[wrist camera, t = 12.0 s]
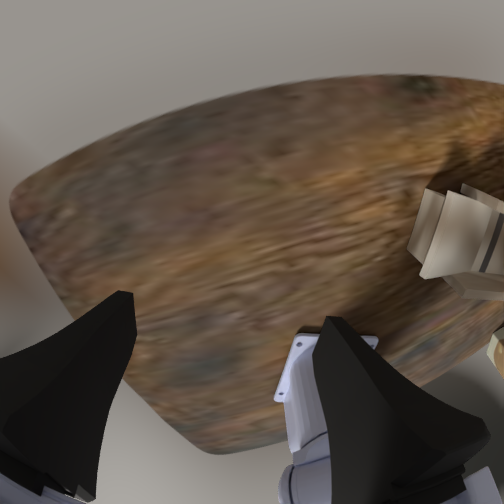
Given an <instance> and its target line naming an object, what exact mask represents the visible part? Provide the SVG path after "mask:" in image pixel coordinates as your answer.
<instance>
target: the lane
mask: <svg viewBox="0 0 504 504" xmlns="http://www.w3.org/2000/svg"><path fill="white" fill-rule="evenodd" d="M460 193H462V194H465V195H467V196H469V197H467V196H464V195H461V194H458V193H455V192H452V191H449V190H448V192H447V196H445V195H443V194H441V193H439V192H436V191H433V190H430V189H427V188H425V191H424V195H423V198H422V202H421V205H420V209H419V212H418V215H417V219H416V222H415V225H414V228H413V231H412V234H411V237H410V240H409V243H408V246H407V250H408V251H409V252H410V253H411V254H412V255H413V256H414V257H415V258H416V259H417V260H418V261H420V262H421V263H422V264H423V267H422V269H421V272H420V274H419V275H420V276H421V277H422V278H424V279H430V278H436V277H442V278H443V279H444V280H445V281H446V282H447V283H448V284H449V285H450V286H451V287H452V288H453V289H454V290H455V291H456V292H457V293H458V295H459V296H460V297H461V298H468V299H485V300H504V202H503V201H501V200H499V199H497V198H495V197H493V196H491V195H488V194H486V193H484V192H482V191H480V190H477V189H475V188H473V187H470V186H468V185H466V184H463V183H462V187H461V191H460ZM470 197H471V198H470Z"/></svg>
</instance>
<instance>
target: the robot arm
mask: <svg viewBox="0 0 504 504" xmlns="http://www.w3.org/2000/svg"><path fill="white" fill-rule="evenodd" d="M136 337H137V328H136V319H135V309H134V298H133V293H131V292H125V291H119V290H118V291H116V292H115V293H113V294H112V295H111V296H109V297H108V298H106V299H105V300H104V301H102V302H101V303H100V304H98V305H97V306H96V307H94V308H93V309H91V310H90V311H89V312H87V313H86V314H84V315H83V316H82V317H80V318H79V319H77V320H76V321H74V322H73V323H71V324H70V325H68V326H67V327H65V328H64V329H62V330H60V331H59V332H58V333H55V334H54V335H52V336H50V337H49V338H47V339H45V340H43V341H41V342H39V343H37V344H35V345H33V346H30V347H28V348H26V349H24V350H21V351H19V352H17V353H14V354H12V355H9V356H6V357H3V358H0V504H86V503H83V502H81V501H78V500H76V499H73V498H77V499H79V500H82V501H85V502H91V501H93V500H95V499H96V483H97V472H98V471H97V470H98V463H99V457H100V450H101V445H102V440H103V434H104V430H105V426H106V422H107V418H108V414H109V410H110V407H111V404H112V401H113V398H114V396H115V394H116V391H117V389H118V386H119V384H120V381H121V379H122V377H123V374H124V372H125V370H126V367H127V365H128V362H129V360H130V358H131V355H132V351H133V348H134V344H135V341H136ZM378 341H379V340H378V338H377V337H376V336H360V335H359V334H358V333H357V332H356V331H355V330H354V329H353V328H352V327H351V326H350V325H349V324H348V323H347V322H346V321H345V320H344V319H343V318H342V317H333V316H326V319H325V322H324V324H323V327H322V330H321V332H320V334H310V333H299V334H297V335H295V337H294V340H293V343H292V346H291V349H290V352H289V355H288V358H287V361H286V364H285V367H284V370H283V373H282V376H281V378H280V381H279V384H278V387H277V389H276V392H275V395H274V400H275V401H276V402H284V409H285V418H286V426H287V434H288V442H289V447H290V450H291V452H292V455H293V463H294V464H292V465H289V466H287V467H286V469H285V470H284V472H283V474H282V477H281V478H280V481H279V486H278V497H279V503H280V504H503V503H502V500H501V498H500V495H499V492H498V489H497V487H496V484H495V482H494V479H493V478H492V475H491V472H490V470H489V467H484V468H483V469H481V470H479V471H477V472H476V473H474V474H472V475H470V476H468V477H467V478H465V479H464V480H463V478H462V476H461V474H463V473H464V472H465V468H464V465H463V464H464V463H465V462H467V461H468V460H469V459H470V458H472V457H473V456H474V455H475V454H476V453H477V452H478V451H480V450H481V449H482V448H483V447H484V446H485V445H486V444H487V443H488V442H489V440H490V438H491V434H490V432H489V431H488V429H487V427H486V425H485V423H484V421H483V419H481V418H479V417H476V416H473V415H471V414H468V413H465V412H463V411H460V410H458V409H456V408H454V407H452V406H450V405H448V404H445V403H444V402H442V401H440V400H438V399H437V398H435V397H433V396H432V395H430V394H428V393H426V392H425V391H423V390H422V389H421V388H419V387H418V386H416V385H415V384H413V383H412V382H411V381H409V380H408V379H407V378H405V377H404V376H403V375H402V374H400V373H399V372H398V371H397V370H395V369H394V368H393V367H392V366H391V365H390V364H389V363H388V362H386V361H385V360H384V359H383V358H382V357H381V356H380V355H379V354H378V353H377V352H376V351H375V350H374V349H375V347H376V345H377V343H378ZM298 342H301V343H299V344H297V343H298ZM370 345H371V346H370ZM65 494H66V495H68V496H71V497H73V498H71V497H68V496H66V495H65Z"/></svg>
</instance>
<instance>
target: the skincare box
mask: <svg viewBox="0 0 504 504" xmlns="http://www.w3.org/2000/svg"><path fill="white" fill-rule="evenodd" d="M487 355H488V356H489V358H490V359H491V361H492V362H493V364H494V365H495V367H496V368H497V370H498V371H499V373H500V374H501V376H502V377H503V379H504V327H502V328H501V329H499V330H498V331H496V332H494V333H493V335H492V338H491V341H490V344H489V347H488V350H487Z"/></svg>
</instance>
